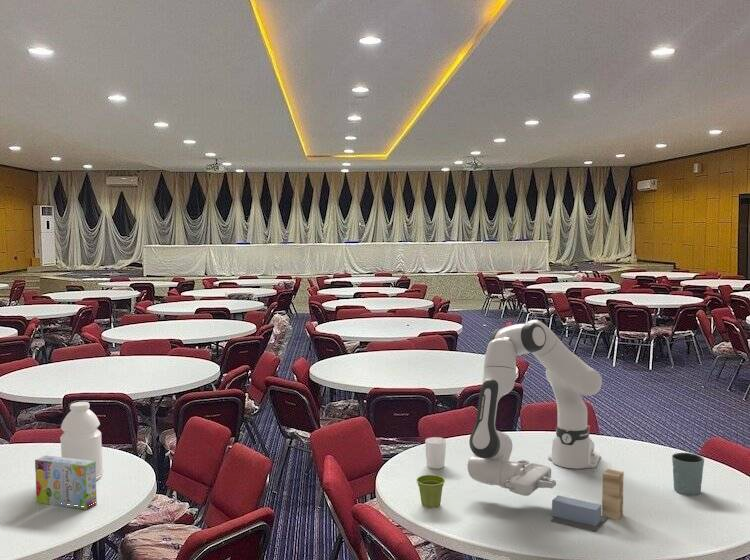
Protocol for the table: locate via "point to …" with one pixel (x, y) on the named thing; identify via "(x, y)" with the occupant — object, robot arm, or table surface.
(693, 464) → the teal embossed cup
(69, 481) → the snack box
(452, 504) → the table surface
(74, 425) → the bottle
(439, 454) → the white cup
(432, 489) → the plant pot
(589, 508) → the slate pillar
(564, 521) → the mat
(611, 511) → the oak pillar
